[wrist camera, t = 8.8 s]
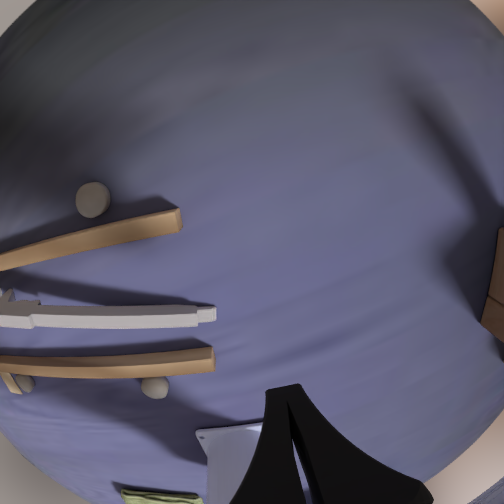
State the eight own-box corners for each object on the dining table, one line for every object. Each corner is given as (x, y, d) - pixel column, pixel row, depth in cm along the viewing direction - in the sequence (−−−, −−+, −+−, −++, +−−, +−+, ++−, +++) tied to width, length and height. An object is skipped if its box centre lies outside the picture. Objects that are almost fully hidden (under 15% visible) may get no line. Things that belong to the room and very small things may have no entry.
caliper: (1, 296, 18) (-38, 328, 12) (-1, 285, 18) (-43, 315, 12) (216, 317, 20) (213, 375, 14) (216, 303, 20) (212, 358, 14)
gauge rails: (227, 396, 22) (227, 417, 20) (11, 391, 21) (3, 403, 19) (167, 140, 16) (157, 136, 14) (-56, 229, 15) (-71, 235, 13)
